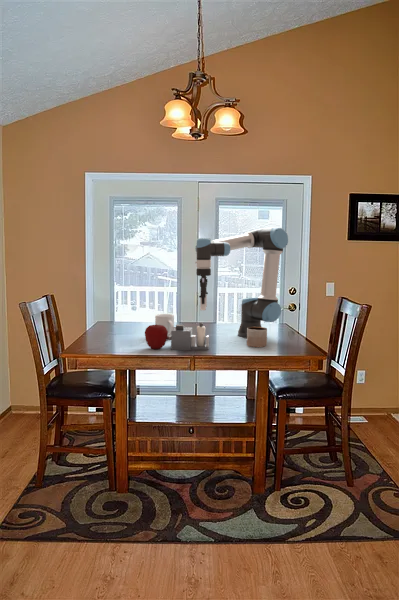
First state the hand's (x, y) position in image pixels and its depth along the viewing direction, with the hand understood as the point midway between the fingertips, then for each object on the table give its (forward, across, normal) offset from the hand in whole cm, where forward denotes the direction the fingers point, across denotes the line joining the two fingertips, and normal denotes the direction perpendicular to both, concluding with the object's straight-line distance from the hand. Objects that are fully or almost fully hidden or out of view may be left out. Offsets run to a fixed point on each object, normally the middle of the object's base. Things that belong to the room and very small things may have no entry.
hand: (203, 308), depth 252 cm
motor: (+21, +3, -8) cm, 23 cm away
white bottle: (+19, +3, -1) cm, 20 cm away
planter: (+22, -8, +29) cm, 37 cm away
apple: (+21, +6, -24) cm, 33 cm away
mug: (+21, -24, -23) cm, 40 cm away
